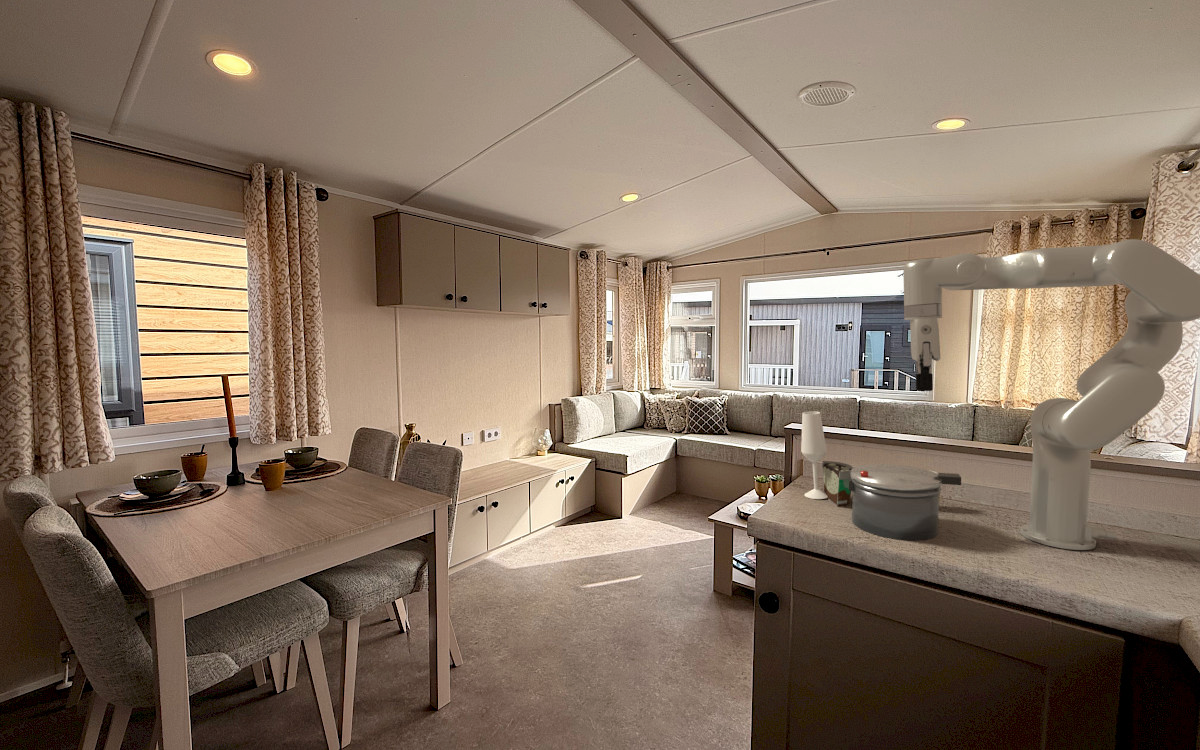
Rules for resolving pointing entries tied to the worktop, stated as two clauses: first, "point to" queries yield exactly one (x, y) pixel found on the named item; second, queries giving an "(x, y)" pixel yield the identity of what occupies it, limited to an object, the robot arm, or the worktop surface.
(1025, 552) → the worktop surface
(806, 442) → the champagne flute
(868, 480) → the cooker lid
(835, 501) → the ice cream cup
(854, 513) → the cooker pot
